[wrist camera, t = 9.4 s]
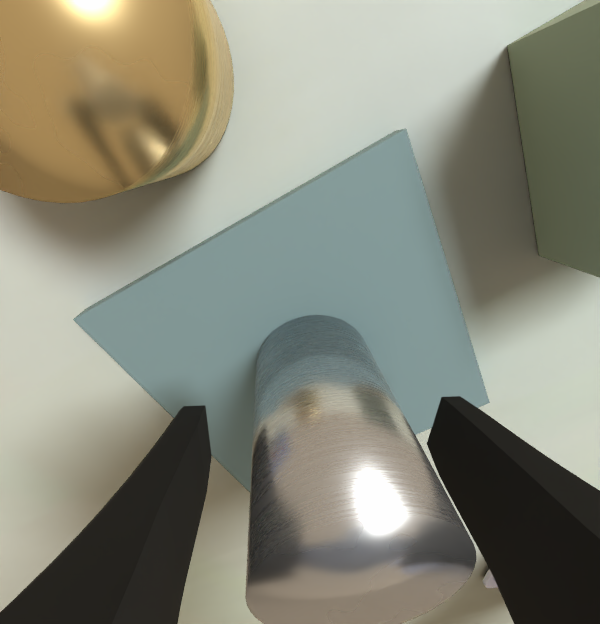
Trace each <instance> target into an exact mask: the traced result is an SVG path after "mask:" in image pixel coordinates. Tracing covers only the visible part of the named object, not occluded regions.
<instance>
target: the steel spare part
mask: <svg viewBox="0 0 600 624" xmlns="http://www.w3.org/2000/svg"><path fill="white" fill-rule="evenodd" d="M475 563H476V550H475V547H474V544H473V542H472V540H471V539H470V537H469V535H468V533H467V531H466V529H465V527H464V526H463V524H462V522H461V520H460V518H459V516H458V514H457V512H456V511H455V509H454V507H453V505H452V503H451V501H450V499H449V497H448V496H447V494H446V492H445V490H444V488H443V486H442V484H441V483H440V481H439V479H438V477H437V475H436V473H435V471H434V469H433V468H432V466H431V464H430V462H429V460H428V458H427V456H426V455H425V453H424V451H423V449H422V447H421V445H420V443H419V441H418V440H417V438H416V436H415V434H414V432H413V430H412V428H411V427H410V425H409V423H408V421H407V419H406V417H405V415H404V413H403V412H402V410H401V408H400V406H399V404H398V402H397V400H396V399H395V397H394V395H393V393H392V391H391V389H390V387H389V385H388V384H387V382H386V380H385V378H384V376H383V374H382V372H381V370H380V369H379V367H378V365H377V363H376V361H375V359H374V357H373V356H372V354H371V352H370V350H369V348H368V346H367V344H366V342H365V341H364V339H363V337H362V336H361V334H360V333H359V332H358V331H357V330H356V329H355V328H354V327H353V326H352V325H350V324H349V323H347V322H345V321H343V320H341V319H339V318H335V317H332V316H327V315H307V316H302V317H298V318H295V319H292V320H290V321H288V322H286V323H284V324H282V325H280V326H279V327H278V328H276V329H275V330H274V331H273V332H272V333H271V334H270V335H269V336H268V337H267V338H266V339H265V341H264V342H263V344H262V345H261V347H260V350H259V352H258V356H257V360H256V381H255V403H254V424H253V446H252V468H251V489H250V511H249V532H248V554H247V576H246V597H245V598H246V602H247V606H248V608H249V610H250V612H251V613H252V614H253V615H254V616H255V617H256V618H257V619H258V620H259V621H261V622H262V623H264V624H401V623H404V622H406V621H409V620H411V619H414V618H416V617H418V616H420V615H423V614H425V613H426V612H428V611H430V610H432V609H434V608H436V607H437V606H439V605H440V604H442V603H444V602H445V601H446V600H448V599H449V598H450V597H452V596H453V595H454V594H455V593H456V592H457V591H458V590H459V589H460V588H461V587H462V586H463V585H464V584H465V583H466V582H467V580H468V579H469V577H470V576H471V574H472V572H473V569H474V567H475Z"/></svg>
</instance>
